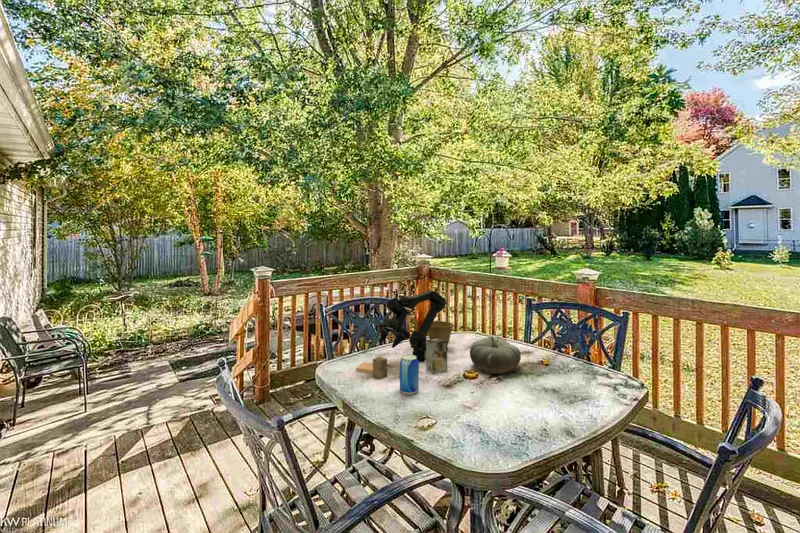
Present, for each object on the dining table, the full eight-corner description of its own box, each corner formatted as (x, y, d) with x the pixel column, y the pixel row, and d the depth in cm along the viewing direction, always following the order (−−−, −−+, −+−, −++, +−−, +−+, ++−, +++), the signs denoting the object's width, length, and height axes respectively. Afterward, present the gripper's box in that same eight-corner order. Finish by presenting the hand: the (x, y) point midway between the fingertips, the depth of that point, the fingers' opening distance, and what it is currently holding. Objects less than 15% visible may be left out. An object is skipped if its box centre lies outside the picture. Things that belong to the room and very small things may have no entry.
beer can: (412, 397, 180) (412, 361, 179) (396, 392, 185) (396, 358, 183) (421, 390, 188) (422, 356, 186) (406, 386, 192) (406, 352, 190)
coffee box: (440, 367, 217) (441, 337, 215) (447, 371, 211) (447, 340, 209) (425, 370, 212) (425, 339, 211) (432, 374, 207) (432, 343, 205)
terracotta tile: (379, 368, 216) (379, 364, 216) (372, 374, 207) (372, 370, 207) (363, 366, 219) (363, 362, 219) (356, 372, 210) (356, 367, 210)
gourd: (487, 352, 233) (491, 323, 228) (527, 370, 216) (532, 340, 211) (460, 367, 216) (463, 337, 211) (501, 388, 199) (505, 356, 194)
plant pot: (456, 348, 247) (456, 322, 245) (444, 355, 235) (445, 328, 233) (433, 344, 255) (434, 319, 253) (422, 351, 243) (422, 324, 241)
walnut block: (379, 374, 207) (379, 356, 206) (387, 376, 204) (387, 358, 203) (373, 376, 204) (372, 359, 202) (380, 379, 200) (380, 361, 199)
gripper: (378, 308, 216) (364, 334, 211) (404, 313, 203) (389, 342, 198) (390, 318, 223) (377, 344, 218) (416, 324, 210) (402, 352, 205)
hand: (386, 345), depth 209 cm, fingers open, 9 cm apart
